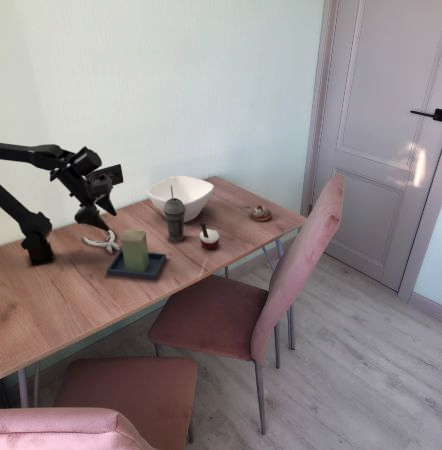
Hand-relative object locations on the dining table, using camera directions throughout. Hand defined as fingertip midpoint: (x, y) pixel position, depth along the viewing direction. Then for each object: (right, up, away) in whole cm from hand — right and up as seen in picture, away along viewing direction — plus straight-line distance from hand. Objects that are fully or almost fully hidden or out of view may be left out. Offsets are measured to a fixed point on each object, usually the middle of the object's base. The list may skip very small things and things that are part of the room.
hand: (112, 222), depth 124 cm
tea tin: (+7, -14, +3) cm, 16 cm away
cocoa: (+29, -8, +13) cm, 33 cm away
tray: (+7, -14, +3) cm, 16 cm away
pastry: (+49, +3, +31) cm, 58 cm away
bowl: (+19, +4, +32) cm, 37 cm away
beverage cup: (+18, -5, +18) cm, 26 cm away
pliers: (-6, -7, +16) cm, 18 cm away
